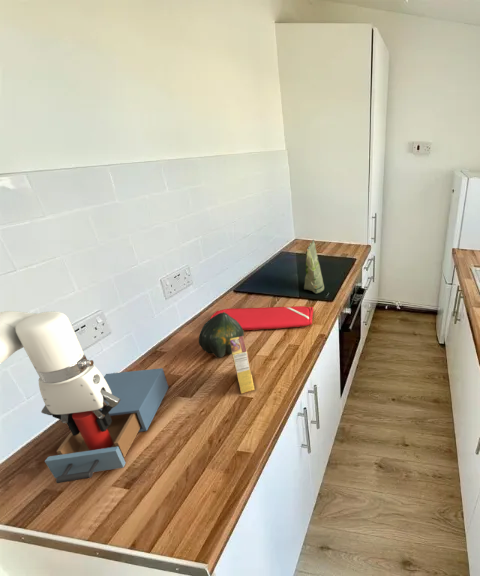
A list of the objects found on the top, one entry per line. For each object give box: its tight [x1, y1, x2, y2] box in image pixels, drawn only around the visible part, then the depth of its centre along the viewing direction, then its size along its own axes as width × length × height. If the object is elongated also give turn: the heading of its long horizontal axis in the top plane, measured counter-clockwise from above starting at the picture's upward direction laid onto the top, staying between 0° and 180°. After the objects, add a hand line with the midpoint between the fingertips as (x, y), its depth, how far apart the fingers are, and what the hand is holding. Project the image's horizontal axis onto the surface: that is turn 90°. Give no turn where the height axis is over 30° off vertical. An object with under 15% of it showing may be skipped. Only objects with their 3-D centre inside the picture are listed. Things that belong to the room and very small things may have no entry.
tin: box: [72, 411, 113, 451], centre depth 77 cm, size 4×4×12 cm
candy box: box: [230, 336, 255, 395], centre depth 101 cm, size 9×4×15 cm, turn 28°
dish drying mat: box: [209, 305, 314, 331], centre depth 136 cm, size 16×41×4 cm, turn 98°
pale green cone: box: [303, 239, 325, 294], centre depth 161 cm, size 11×12×25 cm
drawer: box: [44, 413, 141, 484], centre depth 78 cm, size 20×13×6 cm
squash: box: [198, 312, 245, 359], centre depth 117 cm, size 14×15×15 cm
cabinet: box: [100, 367, 170, 433], centre depth 90 cm, size 17×15×8 cm
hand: (92, 428), depth 76 cm, fingers open, 4 cm apart
